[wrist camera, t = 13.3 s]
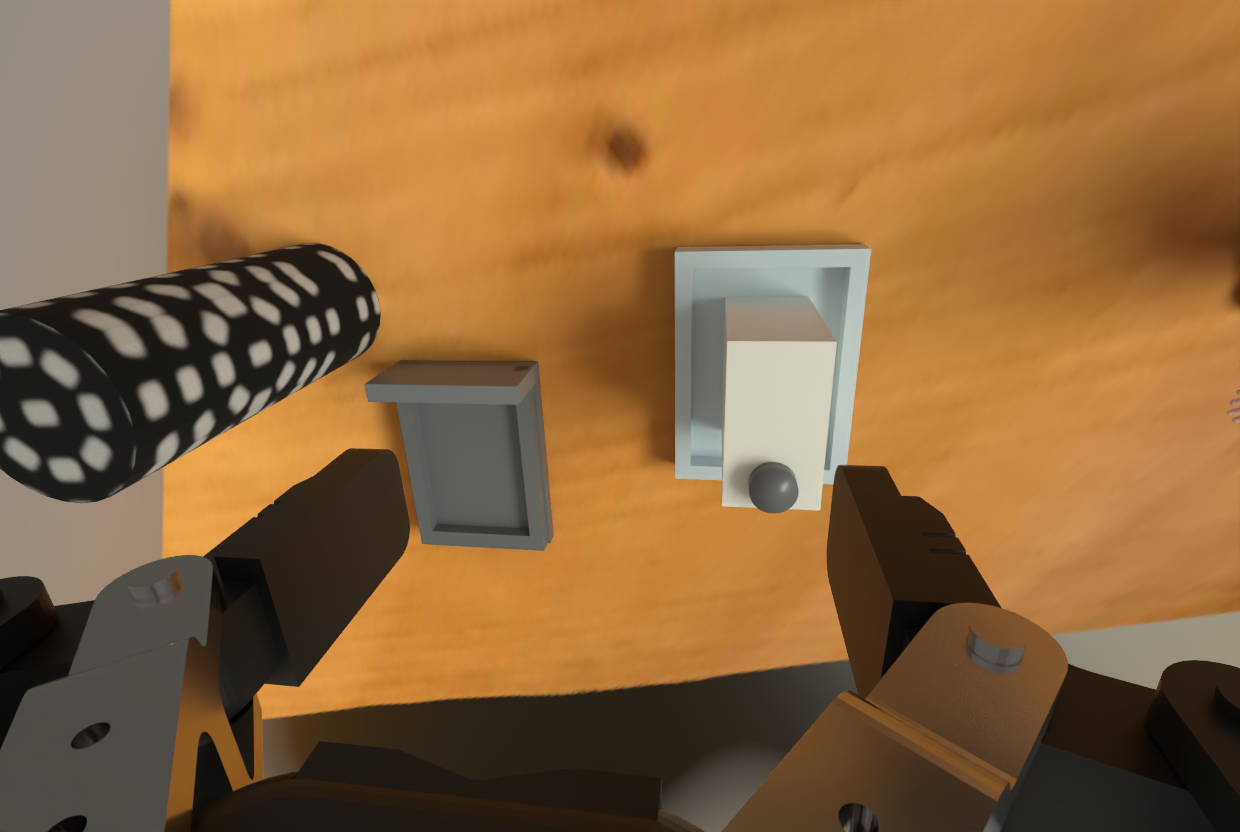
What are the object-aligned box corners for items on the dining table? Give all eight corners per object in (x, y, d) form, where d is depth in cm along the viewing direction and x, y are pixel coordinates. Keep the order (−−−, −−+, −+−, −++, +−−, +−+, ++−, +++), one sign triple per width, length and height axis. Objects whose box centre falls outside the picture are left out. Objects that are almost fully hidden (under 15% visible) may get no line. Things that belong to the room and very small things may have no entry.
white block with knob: (725, 296, 39) (727, 347, 29) (808, 296, 38) (840, 347, 28) (721, 429, 42) (722, 516, 32) (797, 431, 42) (823, 520, 32)
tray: (676, 247, 39) (674, 251, 37) (863, 243, 37) (871, 248, 35) (677, 464, 44) (675, 478, 43) (838, 469, 43) (844, 484, 41)
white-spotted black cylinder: (286, 363, 46) (0, 502, 28) (252, 246, 43) (-94, 316, 25) (391, 360, 45) (165, 503, 26) (365, 239, 41) (87, 307, 23)
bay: (400, 360, 44) (364, 384, 40) (538, 361, 43) (516, 386, 38) (430, 529, 50) (401, 567, 45) (553, 535, 48) (536, 575, 44)
